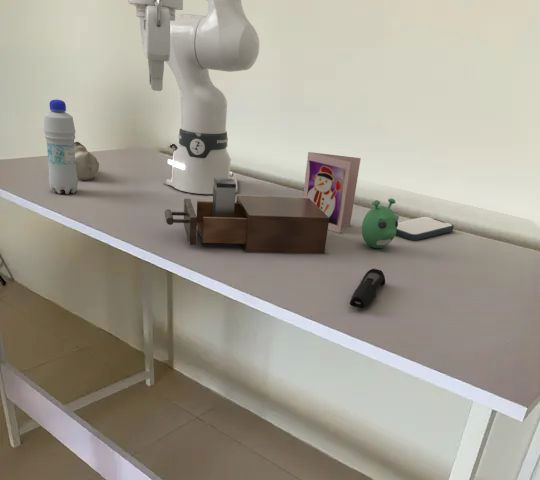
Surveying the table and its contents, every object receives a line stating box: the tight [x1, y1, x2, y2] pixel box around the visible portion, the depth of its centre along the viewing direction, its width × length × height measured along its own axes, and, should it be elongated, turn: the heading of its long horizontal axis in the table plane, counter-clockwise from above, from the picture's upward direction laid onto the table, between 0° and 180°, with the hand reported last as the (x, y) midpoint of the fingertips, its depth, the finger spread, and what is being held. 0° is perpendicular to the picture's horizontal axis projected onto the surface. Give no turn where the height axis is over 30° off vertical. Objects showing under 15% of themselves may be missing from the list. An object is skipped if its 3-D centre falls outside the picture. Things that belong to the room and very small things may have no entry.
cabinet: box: [235, 195, 329, 254], centre depth 121 cm, size 16×15×7 cm
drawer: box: [164, 198, 248, 246], centre depth 118 cm, size 19×13×5 cm
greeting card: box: [302, 151, 362, 234], centre depth 133 cm, size 11×7×15 cm, turn 47°
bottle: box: [43, 99, 79, 195], centre depth 136 cm, size 7×7×20 cm
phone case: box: [396, 216, 455, 241], centre depth 138 cm, size 9×2×16 cm
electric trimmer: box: [349, 268, 386, 309], centre depth 99 cm, size 4×16×3 cm, turn 159°
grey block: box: [212, 178, 237, 218], centre depth 116 cm, size 4×4×10 cm
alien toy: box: [361, 197, 400, 249], centre depth 122 cm, size 7×8×10 cm
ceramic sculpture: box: [74, 141, 100, 181], centre depth 154 cm, size 11×9×15 cm
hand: (155, 87), depth 104 cm, fingers open, 8 cm apart
